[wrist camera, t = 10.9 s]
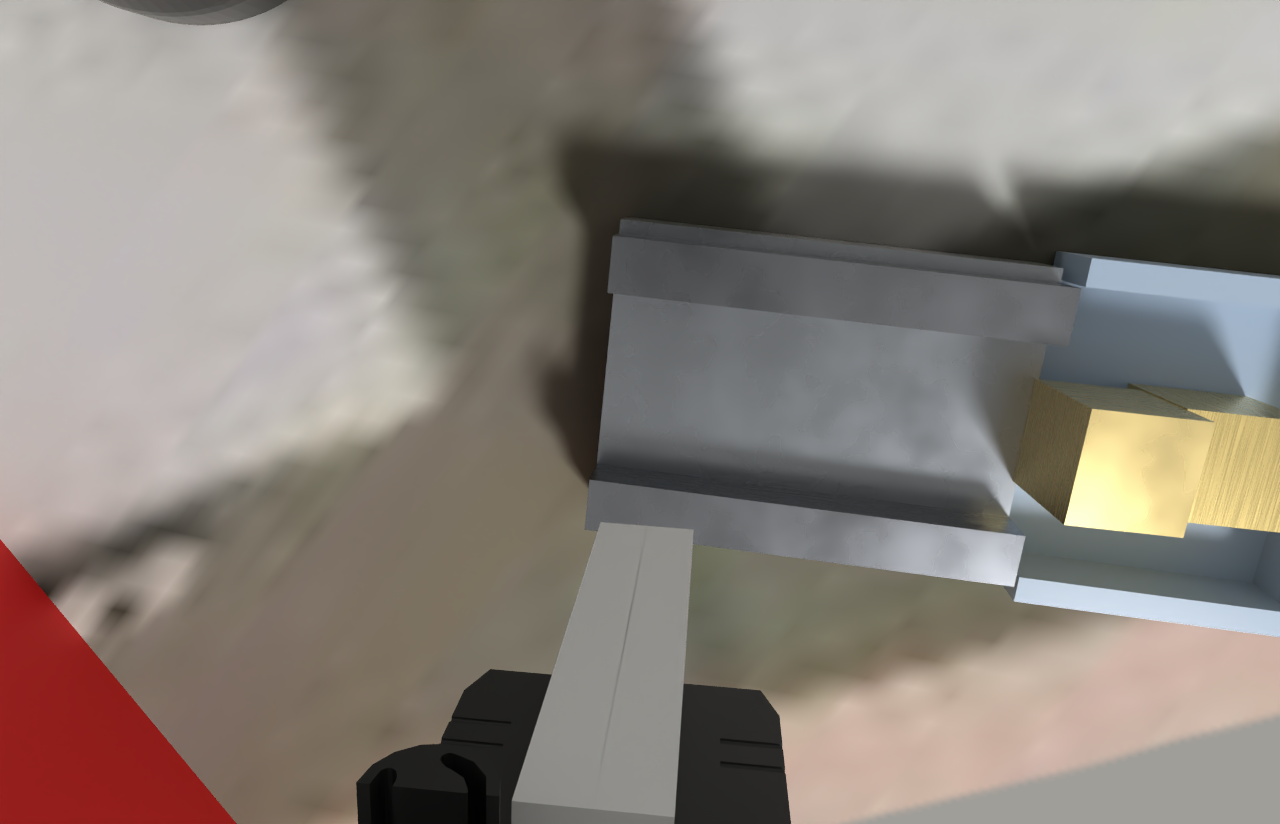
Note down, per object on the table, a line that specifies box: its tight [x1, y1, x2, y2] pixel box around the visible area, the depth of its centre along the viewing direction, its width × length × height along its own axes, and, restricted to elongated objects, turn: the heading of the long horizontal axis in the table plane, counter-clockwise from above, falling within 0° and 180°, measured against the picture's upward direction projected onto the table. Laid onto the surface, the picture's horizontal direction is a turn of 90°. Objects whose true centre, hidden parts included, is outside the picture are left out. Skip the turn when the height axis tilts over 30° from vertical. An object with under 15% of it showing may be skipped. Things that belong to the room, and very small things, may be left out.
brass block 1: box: [1013, 379, 1216, 538], centre depth 32 cm, size 4×4×4 cm
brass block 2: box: [1127, 383, 1280, 533], centre depth 33 cm, size 4×4×4 cm
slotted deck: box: [585, 217, 1081, 587], centre depth 35 cm, size 12×16×4 cm
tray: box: [1003, 251, 1280, 637], centre depth 34 cm, size 13×11×4 cm
